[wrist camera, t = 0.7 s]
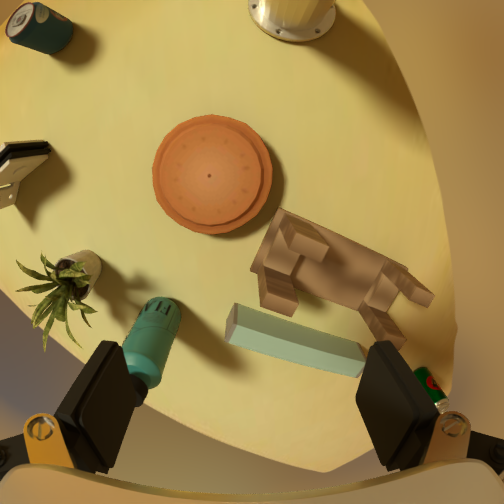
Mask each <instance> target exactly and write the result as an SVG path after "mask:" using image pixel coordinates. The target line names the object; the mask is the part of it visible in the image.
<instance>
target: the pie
mask: <svg viewBox="0 0 504 504" xmlns="http://www.w3.org/2000/svg"><path fill="white" fill-rule="evenodd" d="M272 172H273V167H272V163H271V159H270V156H269V152H268V150H267V148H266V146H265V144H264V143H263V141H262V139H261V138H260V136H259V135H258V134H257V133H256V132H255V131H254V130H253V129H252V128H251V127H249V126H248V125H247V124H246V123H243V122H241V121H238V120H235V119H232V118H229V117H224V116H218V115H213V114H211V115H205V116H200V117H194V118H192V119H190V120H187V121H185V122H183V123H181V124H178V125H177V126H176V127H175V128H174V129H173V130H172V131H171V132H169V133H168V134H167V135H166V136H165V138H164V139H163V141H162V143H161V144H160V146H159V148H158V150H157V152H156V156H155V159H154V163H153V167H152V173H153V187H154V191H155V195H156V199H157V201H158V203H159V204H160V206H161V207H162V208H163V210H164V211H165V213H166V214H167V215H168V216H170V217H171V218H172V219H173V220H175V221H176V222H177V223H178V224H180V225H182V226H184V227H186V228H188V229H190V230H192V231H194V232H198V233H204V234H219V233H227V232H230V231H232V230H234V229H236V228H238V227H240V226H242V225H244V224H245V223H247V222H248V221H249V220H251V219H252V218H254V217H255V216H256V215H257V214H258V213H259V211H260V210H261V208H262V207H263V205H264V204H265V202H266V201H267V198H268V195H269V192H270V189H271V186H272Z"/></svg>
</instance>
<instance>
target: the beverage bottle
mask: <svg viewBox="0 0 504 504" xmlns="http://www.w3.org/2000/svg"><path fill="white" fill-rule="evenodd" d="M144 306H145V307H144V308H143V310H142V312H141V311H140V313H139V316H138V319H137V320H135V321H136V322H135V324H134V326H133V325H132V326H133V328H132V329H131V331H130V333H129V332H128V333H129V335H128V337H127V336H126V337H127V338H126V340H125V342H124V341H123V344H122V348H123V352H124V356H125V359H126V363H127V367H128V370H129V374H130V377H131V380H132V384H133V387H134V390H135V393H136V398H137V401H136V405H135V407H139V406H141V405H142V404H143V402H144V400H145V398H146V396H147V394H148V389H152V388H155V387H156V386H158V385H159V383H160V382H161V378H162V374H163V371H164V367H165V364H166V361H167V358H168V355H169V352H170V349H171V346H172V344H173V341H174V338H175V335H176V332H177V331H178V330H177V329H178V327H179V324H180V321H181V314H180V310H179V308H178V306H177V305H176V304H175V303H174V302H173V301H171V300H170V299H168V298H165V297H155V298H153V299H151V300H150V301H149V300H148V302H147V303H146V304H144Z"/></svg>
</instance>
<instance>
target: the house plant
mask: <svg viewBox="0 0 504 504" xmlns="http://www.w3.org/2000/svg"><path fill="white" fill-rule="evenodd" d="M41 261H42V263H43V264H44V268H45V271H46V273H47V275H48V276H49V277H48V276H45V275H42V274H40V273H38V272H36V271H34V270H30V269H27V268H26V267H24V266H23V265H22V264H21V263H19V262H18V261H17V260H16V262H17V264H18V266H19V267H20V269H21V270H22V271H23V272H24V273H26V274H28V275H29V276H31V277H33V278H35V279H38V280H47V281H52V283H47V284H42V285H34V286H29V287H25V288H22V289H20V290H17V291H15V292H20V291H31V290H32V292H34V293H37V294H38V293H42V292H45V291H48V290H51V289H53V288H55V287H56V286H57V287H58V288H57V289H55V290H54V291H52V292H51V293H50V294H49V295H47V296H45V297H46V298H45V299H44V300H43V301H42V302H41V303H40V304H38V306H37V308H36V310H35V312H34V314H33V317H32V321H31V324H32V323H33V322H34V323H33V328H36V327H37V326H38V325H39V324H40V323H41V322H42V321H43V320H44V318H45V317H47V315H48V314H49V313H50V312H51V311H52V313H51V315H50V317H49V320H48V322H47V324H46V327H45V329H44V333H43V348H44V351H45V349H46V341H47V337H48V334H49V331H50V329H51V326H52V324H53V322H54V318H56V319H57V320H59V321H63V322H65V321H66V330H67V333H68V335H69V337H70V338H71V339H72V341H74V342H75V343H76V344H77V345H78V346H79V347H81V346H80V345H79V344H78V343H77V341H76V340H75V339H74V337H73V335H72V333H71V331H70V329H69V326H68V321H67V304H68V305H69V307H70V308H71V309H72V310H78V309H80V310H81V314H82V318H83V319H84V321H85V322H86V323H87V325H88V326H89V327H91V326H90V325H89V323H88V321H87V319H86V317H85V314H84V312H85V313H88V314H90V313H95V312H98V311H95V310H94V309H93V308H91V307H90V306H88V305H86V304H84V303H82V302H81V300H83V299H85V298H86V297H87V296H88V294H89V293H90V291H91V289H92V287H93V286H94V284H95V282H96V280H97V279H98V277H99V275H100V273H101V271H102V264H101V261H100V259H99V257H98V256H97V255H96V254H95V253H94V252H92V251H90V250H83V251H80V252H77V253H74V254H72V255H69V256H66V257H64V258H61V259H60V260H58V261H57V262H56V264H55V266H54V265H52V264H51V263H50V262H49V261H48V260H47V259H46V256H45V257H44V256H43V255H42V252H41ZM46 266H47V267H49V268H51V269H54V270H53V272H52V273H51V272H48V271H47V269H46ZM69 299H70V300H71V302H72V300H75V302H76V304H74V303H73V302H72V303H73V304H72V303H69V302H68V301H69ZM51 303H52V304H51ZM50 304H51V305H50ZM49 305H50V306H49ZM28 306H30V305H28ZM34 306H36V305H34ZM48 306H49V307H48ZM47 307H48V308H47ZM46 308H47V309H46ZM45 309H46V311H45V312H44V313H43V311H44V310H45ZM52 309H53V310H52ZM42 313H43V314H42ZM41 314H42V315H41ZM81 348H82V347H81Z"/></svg>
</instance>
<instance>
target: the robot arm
mask: <svg viewBox="0 0 504 504" xmlns="http://www.w3.org/2000/svg"><path fill="white" fill-rule="evenodd" d="M334 2H335V0H249V1H248V9H249V14H250V16H251V18H252V20H253V21H254V22H255V24H256V25H257V26H258V27H259V28H260V29H261V30H263V31H264V32H266V33H267V34H269V35H271V36H273V37H276V38H278V39H282V40H285V41H292V42H304V41H310V40H314V39H316V38H319V37H320V36H322V35H324V34H325V33H326V32H327V31H328V30H329V29H330V28H331V26H332V25H333V23H334V21H335V16H336V11H335V6H334ZM253 8H255V9H253ZM277 32H279V33H280V34H277ZM316 32H317V33H316ZM136 401H137V398H136V393H135V390H134V387H133V384H132V380H131V377H130V374H129V370H128V367H127V363H126V359H125V356H124V352H123V348H122V347H121V346H119V345H118V343H117V342H114V341H105V340H103V341H101V343H100V344H99V345H98V347H97V348H96V350H95V351H94V353H93V354H92V356H91V357H90V359H89V360H88V362H87V363H86V365H85V366H84V368H83V369H82V371H81V373H80V374H79V375H78V377H77V379H76V380H75V382H74V383H73V385H72V387H71V388H70V390H69V391H68V393H67V394H66V396H65V398H64V399H63V401H62V402H61V404H60V406H59V407H58V409H57V411H56V412H55V414H54V416H52V415H49V414H44V413H41V414H36V415H34V416H32V417H30V418H29V419H28V420H27V421H26V423H25V425H24V428H23V434H20V435H17V436H14V437H10V438H7V439H4V440H1V441H0V504H504V440H503V439H499V438H496V437H492V436H489V435H485V434H481V433H478V432H475V431H471V424H470V422H469V420H468V418H467V417H466V416H464V415H463V414H461V413H459V412H457V411H446V412H444V413H442V414H440V413H439V411H438V408H437V407H436V405H435V404H434V402H433V401H432V399H431V398H430V396H429V395H428V393H427V392H426V390H425V389H424V387H423V386H422V384H421V383H420V381H419V380H418V379H417V377H416V376H415V374H414V373H413V371H412V370H411V369H410V367H409V366H408V364H407V363H406V362H405V360H404V359H403V357H402V356H401V355H400V353H399V352H398V350H397V349H396V348H395V346H394V345H393V344H392V342H391V341H390V340H385V341H377V342H375V343H374V345H373V346H371V347H370V349H369V352H368V356H367V360H366V363H365V367H364V370H363V374H362V377H361V380H360V383H359V387H358V390H357V393H356V404H357V406H358V408H359V411H360V413H361V416H362V418H363V420H364V423H365V425H366V428H367V430H368V433H369V435H370V438H371V440H372V443H373V445H374V448H375V450H376V453H377V455H378V458H379V460H380V463H381V464H382V465H383V466H386V468H387V471H388V472H389V471H392V470H395V469H399V468H400V472H396V473H392V474H389V475H385V476H381V477H377V478H373V479H368V480H364V481H360V482H355V483H350V484H345V485H339V486H334V487H328V488H321V489H314V490H305V491H296V492H285V493H270V494H269V493H268V494H217V493H201V492H189V491H180V490H171V489H164V488H158V487H152V486H146V485H140V484H136V483H131V482H126V481H120V480H116V479H112V478H108V477H104V476H100V475H96V474H95V473H96V471H98V472H101V473H105V474H108V470H109V468H113V467H114V464H115V461H116V458H117V455H118V453H119V449H120V447H121V444H122V441H123V438H124V435H125V433H126V430H127V427H128V424H129V421H130V419H131V416H132V413H133V411H134V408H135V405H136Z"/></svg>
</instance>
